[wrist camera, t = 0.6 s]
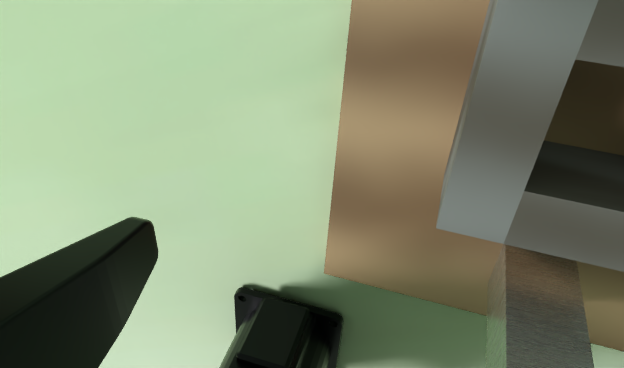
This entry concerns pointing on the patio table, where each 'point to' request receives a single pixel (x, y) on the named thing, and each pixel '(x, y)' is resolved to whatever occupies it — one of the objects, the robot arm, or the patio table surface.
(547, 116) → the chuck stand
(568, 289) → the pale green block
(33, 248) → the patio table surface
